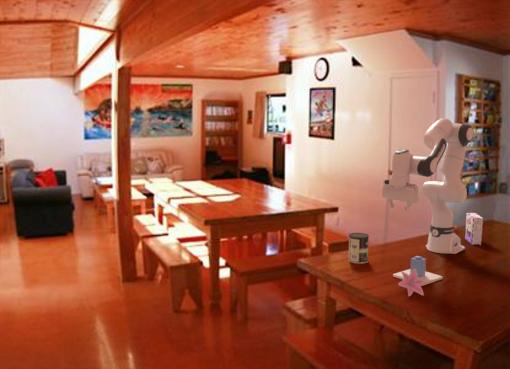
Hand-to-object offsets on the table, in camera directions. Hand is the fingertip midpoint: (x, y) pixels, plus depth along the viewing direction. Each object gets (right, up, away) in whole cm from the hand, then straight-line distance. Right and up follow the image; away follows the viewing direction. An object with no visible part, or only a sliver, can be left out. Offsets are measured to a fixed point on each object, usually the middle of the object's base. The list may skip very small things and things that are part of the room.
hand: (399, 208), depth 248 cm
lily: (-5, -35, -35) cm, 50 cm away
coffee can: (-19, -28, +11) cm, 35 cm away
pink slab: (+4, -32, -16) cm, 36 cm away
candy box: (+58, -22, +46) cm, 77 cm away
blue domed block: (+4, -31, -16) cm, 35 cm away
